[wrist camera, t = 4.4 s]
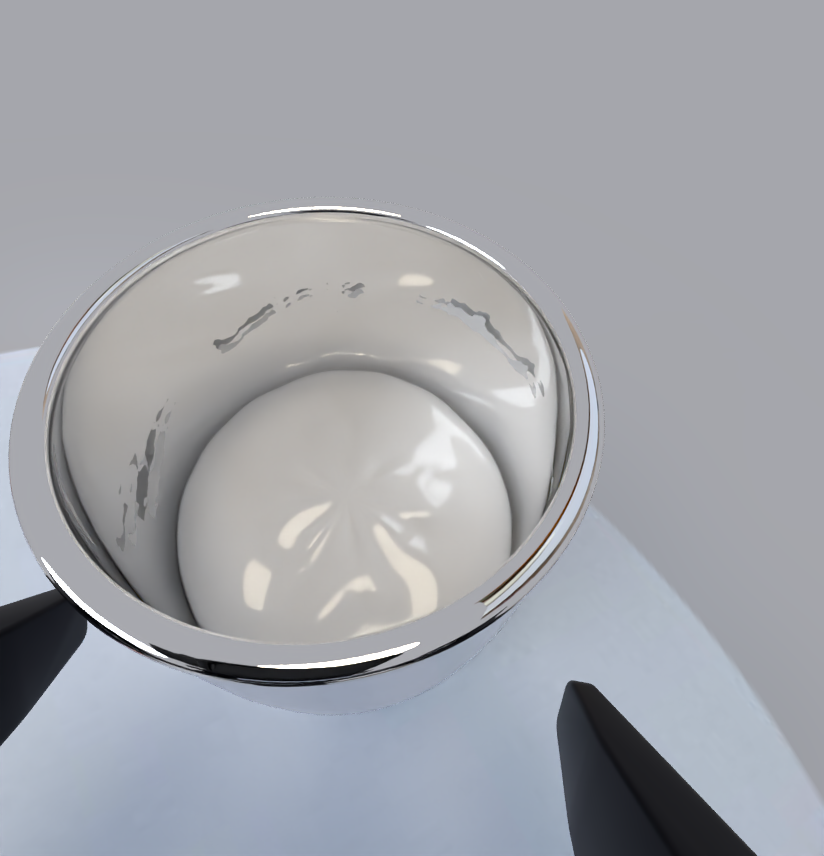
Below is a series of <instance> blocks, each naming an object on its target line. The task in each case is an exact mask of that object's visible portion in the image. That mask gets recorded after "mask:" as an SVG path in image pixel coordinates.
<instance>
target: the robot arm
mask: <svg viewBox="0 0 824 856" xmlns="http://www.w3.org/2000/svg"><path fill="white" fill-rule="evenodd" d="M86 632H87V620H86V619H85V618H84V617H83V616H82V615H80V614H79V613H78V612H77V611H76V610H75V609H74V608H73V607H72V606H71V605H70V604H69V603H68V602H67V601H66V599H65V598H64V597H63V596H62V595H61V594H60V593H59V592H58V591H57V589H54V590H51V591H47V592H44V593H41V594H38V595H35V596H32V597H29V598H26V599H22V600H19V601H16V602H13V603H10V604H7V605H4V606H1V607H0V746H1V745H2V744H3V742H4V741H5V740H6V739H7V738H8V737H9V736H10V734H11V733H12V732H13V731H14V730H15V729H16V727H17V726H18V725H19V724H20V723H21V722H22V720H23V719H24V718H25V717H26V715H27V714H28V713H29V712H30V710H31V709H32V708H33V706H34V705H35V704H36V703H37V701H38V700H39V699H40V697H41V696H42V695H43V693H44V692H45V691H46V689H47V688H48V687H49V685H50V684H51V683H52V681H53V680H54V679H55V678H56V676H57V675H58V674H59V672H60V671H61V670H62V668H63V667H64V666H65V664H66V663H67V662H68V660H69V659H70V658H71V656H72V655H73V654H74V653H75V651H76V650H77V649H78V647H79V646H80V645H81V643H82V642H83V640H84V638H85V635H86ZM557 737H558V745H559V753H560V761H561V769H562V777H563V785H564V793H565V802H566V810H567V817H568V824H569V831H570V836H571V841H572V846H573V850H574V855H575V856H757V855H756V854H755V853H754V852H753V851H752V850H751V849H750V848H749V847H748V846H747V844H746V843H745V842H744V841H743V840H742V839H741V838H740V837H739V836H738V835H737V834H736V833H735V832H734V831H733V830H732V829H731V828H730V827H729V826H728V825H727V824H726V823H725V822H724V821H723V819H722V818H721V817H720V816H719V815H718V814H717V813H716V812H715V811H714V810H713V809H712V808H711V807H710V806H709V805H708V804H707V803H706V802H705V801H704V800H703V799H702V798H701V797H700V796H699V794H698V793H697V792H696V791H695V790H694V789H693V788H692V787H691V786H690V785H689V784H688V783H687V782H686V781H685V780H684V779H683V778H682V777H681V776H680V775H679V774H678V773H677V772H676V771H675V769H674V768H673V767H672V766H671V765H670V764H669V763H668V762H667V761H666V760H665V759H664V758H663V757H662V756H661V755H660V754H659V753H658V752H657V751H656V750H655V749H654V748H653V747H652V746H651V744H650V743H649V742H648V741H647V740H646V739H645V738H644V737H643V736H642V735H641V734H640V733H639V732H638V731H637V730H636V729H635V728H634V727H633V726H632V725H631V724H630V723H629V722H628V721H627V719H626V718H625V717H624V716H623V715H622V714H621V713H620V712H619V711H618V710H617V709H616V708H615V707H614V706H613V705H612V704H611V703H610V702H609V701H608V700H607V699H606V698H605V697H604V696H603V694H602V693H601V692H600V691H599V690H598V689H597V688H596V687H595V686H593V685H592V684H589V683H584V682H579V681H573V680H572V681H569V682H568V684H567V685H566V688H565V691H564V695H563V699H562V702H561V706H560V709H559V713H558V717H557Z"/></svg>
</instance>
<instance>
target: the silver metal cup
mask: <svg viewBox="0 0 824 856" xmlns="http://www.w3.org/2000/svg"><path fill="white" fill-rule="evenodd" d="M604 423H605V421H604V405H603V397H602V391H601V386H600V381H599V377H598V374H597V370H596V367H595V363H594V360H593V357H592V355H591V352H590V350H589V348H588V345H587V343H586V341H585V339H584V337H583V335H582V333H581V331H580V329H579V327H578V325H577V323H576V322H575V320H574V319H573V317H572V315H571V314H570V312H569V311H568V309H567V308H566V307H565V305H564V304H563V303H562V301H561V300H560V299H559V297H558V296H557V295H556V294H555V292H554V291H553V290H552V289H551V288H550V287H549V286H548V285H547V283H546V282H545V281H544V280H543V279H542V278H541V277H540V276H539V275H537V274H536V273H535V272H534V271H533V270H532V269H531V268H530V267H528V266H527V265H526V264H525V263H524V262H523V261H521V260H520V259H519V258H518V257H516V256H515V255H513V254H512V253H511V252H509V251H508V250H506V249H505V248H503V247H502V246H500V245H499V244H497V243H496V242H494V241H492V240H491V239H489V238H487V237H485V236H484V235H482V234H480V233H478V232H476V231H474V230H472V229H470V228H468V227H466V226H464V225H461V224H459V223H456V222H454V221H452V220H449V219H447V218H444V217H441V216H438V215H436V214H432V213H429V212H426V211H423V210H419V209H415V208H412V207H407V206H403V205H399V204H394V203H388V202H382V201H376V200H368V199H358V198H343V197H342V198H341V197H313V198H296V199H286V200H278V201H271V202H265V203H259V204H254V205H250V206H245V207H241V208H237V209H233V210H229V211H225V212H222V213H219V214H216V215H213V216H210V217H207V218H204V219H201V220H198V221H196V222H193V223H191V224H188V225H186V226H183V227H181V228H179V229H177V230H174V231H172V232H170V233H168V234H166V235H164V236H162V237H160V238H158V239H156V240H154V241H153V242H151V243H149V244H147V245H145V246H144V247H142V248H140V249H139V250H137V251H135V252H134V253H132V254H131V255H129V256H128V257H126V258H125V259H123V260H122V261H120V262H119V263H118V264H116V265H115V266H114V267H112V268H111V269H110V270H108V271H107V272H106V273H105V274H103V275H102V276H101V277H100V278H99V279H98V280H96V281H95V282H94V283H93V284H92V285H91V286H90V287H89V288H88V289H86V290H85V291H84V292H83V293H82V294H81V295H80V296H79V297H78V299H76V300H75V302H74V303H73V304H72V305H71V306H70V307H69V308H68V309H67V311H66V312H65V313H64V314H63V315H62V317H61V318H60V319H59V320H58V322H57V323H56V324H55V326H54V327H53V328H52V330H51V331H50V333H49V334H48V336H47V337H46V339H45V340H44V342H43V343H42V345H41V347H40V348H39V350H38V352H37V354H36V355H35V357H34V359H33V361H32V363H31V365H30V367H29V369H28V372H27V374H26V376H25V379H24V381H23V384H22V387H21V389H20V392H19V396H18V399H17V402H16V406H15V410H14V414H13V419H12V425H11V431H10V440H9V479H10V487H11V494H12V499H13V503H14V507H15V511H16V514H17V518H18V521H19V524H20V527H21V530H22V532H23V535H24V538H25V540H26V542H27V544H28V546H29V548H30V550H31V552H32V554H33V555H34V557H35V559H36V561H37V563H38V564H39V566H40V567H41V569H42V570H43V572H44V573H45V575H46V577H47V578H48V579H49V580H50V582H51V583H52V584H53V586H54V587H55V588H56V589H57V591H58V592H59V593H60V594H61V595H62V596H63V597H64V598H65V599H66V601H67V602H68V603H69V604H70V605H71V606H72V607H73V608H74V609H75V610H76V611H77V612H78V613H79V614H80V615H82V616H83V617H84V618H85V619H86V620H88V621H89V622H90V623H91V624H92V625H94V626H95V627H96V628H98V629H99V630H100V631H102V632H103V633H104V634H106V635H107V636H108V637H110V638H112V639H113V640H115V641H116V642H118V643H119V644H121V645H123V646H124V647H126V648H128V649H130V650H132V651H134V652H135V653H137V654H139V655H141V656H144V657H146V658H148V659H150V660H152V661H154V662H156V663H159V664H161V665H164V666H166V667H169V668H171V669H175V670H178V671H181V672H184V673H187V674H190V675H194V676H196V677H198V678H200V679H202V680H204V681H206V682H208V683H210V684H212V685H215V686H217V687H219V688H221V689H223V690H225V691H228V692H230V693H232V694H234V695H236V696H239V697H241V698H244V699H246V700H249V701H252V702H255V703H258V704H262V705H266V706H269V707H274V708H278V709H283V710H288V711H292V712H297V713H304V714H313V715H348V714H357V713H364V712H369V711H374V710H378V709H382V708H386V707H390V706H393V705H396V704H399V703H401V702H404V701H407V700H409V699H411V698H413V697H416V696H418V695H420V694H422V693H424V692H426V691H428V690H429V689H431V688H433V687H435V686H436V685H438V684H440V683H441V682H443V681H444V680H446V679H447V678H448V677H450V676H451V675H453V674H454V673H455V672H456V671H458V670H459V669H460V668H461V667H463V666H464V665H465V664H466V663H467V662H468V661H470V660H471V659H472V658H473V657H474V656H475V655H476V654H477V653H479V652H480V651H481V650H482V649H483V648H484V647H485V646H486V645H487V644H488V643H489V642H490V641H491V640H492V639H493V638H494V636H495V635H496V634H497V633H498V632H499V631H500V630H501V628H502V627H503V626H504V624H505V623H506V622H507V621H508V619H509V618H510V617H511V615H512V614H513V613H514V612H515V610H516V609H517V608H518V606H519V605H520V604H521V603H522V601H523V600H524V598H525V597H526V596H527V595H528V594H529V593H530V592H531V591H532V590H533V589H534V588H535V587H536V585H537V584H538V583H539V582H540V581H541V580H542V579H543V578H544V577H545V576H546V574H547V573H548V572H549V571H550V570H551V568H552V567H553V566H554V565H555V563H556V562H557V561H558V559H559V558H560V557H561V555H562V554H563V552H564V551H565V549H566V548H567V546H568V545H569V543H570V541H571V540H572V538H573V536H574V535H575V533H576V531H577V529H578V527H579V525H580V524H581V522H582V519H583V517H584V515H585V513H586V511H587V508H588V506H589V503H590V501H591V498H592V495H593V492H594V489H595V486H596V482H597V479H598V475H599V471H600V466H601V460H602V454H603V447H604V431H605V430H604V429H605V428H604V427H605V424H604Z"/></svg>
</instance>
